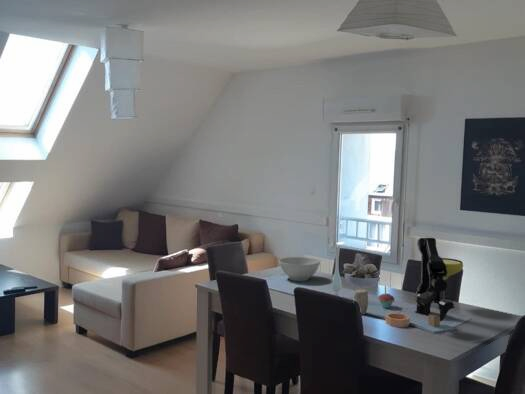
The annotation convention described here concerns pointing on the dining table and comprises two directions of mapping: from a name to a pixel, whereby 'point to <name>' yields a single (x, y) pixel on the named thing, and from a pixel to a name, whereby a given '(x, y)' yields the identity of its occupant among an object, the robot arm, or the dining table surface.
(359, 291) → the carving
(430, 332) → the mat
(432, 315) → the cover
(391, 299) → the cupcake
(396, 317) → the bowl
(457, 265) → the cocktail glass
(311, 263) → the decorative bowl
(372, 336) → the dining table surface
